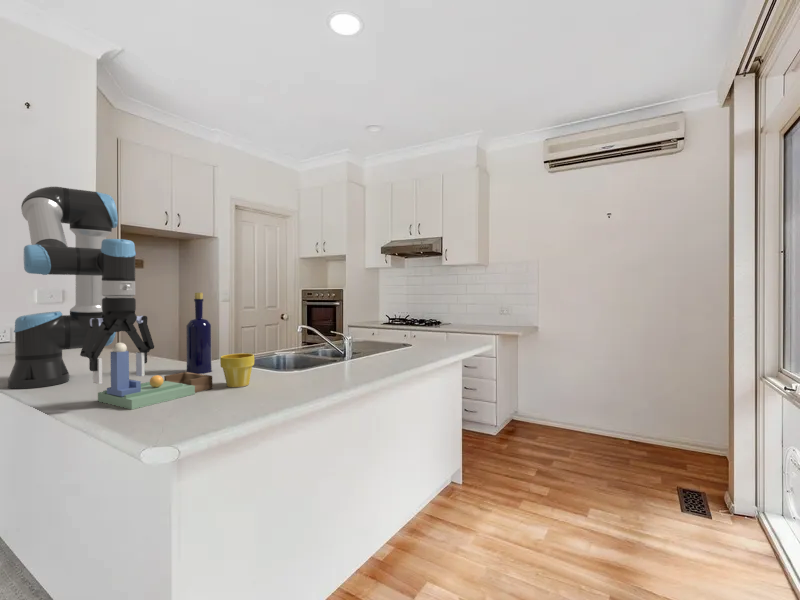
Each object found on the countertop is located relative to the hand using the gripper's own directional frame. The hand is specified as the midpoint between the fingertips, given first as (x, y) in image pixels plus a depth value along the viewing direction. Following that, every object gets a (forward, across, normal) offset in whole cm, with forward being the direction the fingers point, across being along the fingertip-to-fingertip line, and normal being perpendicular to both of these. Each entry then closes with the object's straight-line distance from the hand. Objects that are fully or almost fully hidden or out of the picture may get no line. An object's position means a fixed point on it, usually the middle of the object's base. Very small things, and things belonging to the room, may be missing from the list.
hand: (120, 379), depth 111 cm
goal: (+7, +20, 0) cm, 21 cm away
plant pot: (+7, +30, -10) cm, 33 cm away
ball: (+3, +10, 0) cm, 10 cm away
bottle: (+7, +40, +21) cm, 45 cm away
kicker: (+4, 0, 0) cm, 4 cm away
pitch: (+7, +8, 0) cm, 10 cm away
